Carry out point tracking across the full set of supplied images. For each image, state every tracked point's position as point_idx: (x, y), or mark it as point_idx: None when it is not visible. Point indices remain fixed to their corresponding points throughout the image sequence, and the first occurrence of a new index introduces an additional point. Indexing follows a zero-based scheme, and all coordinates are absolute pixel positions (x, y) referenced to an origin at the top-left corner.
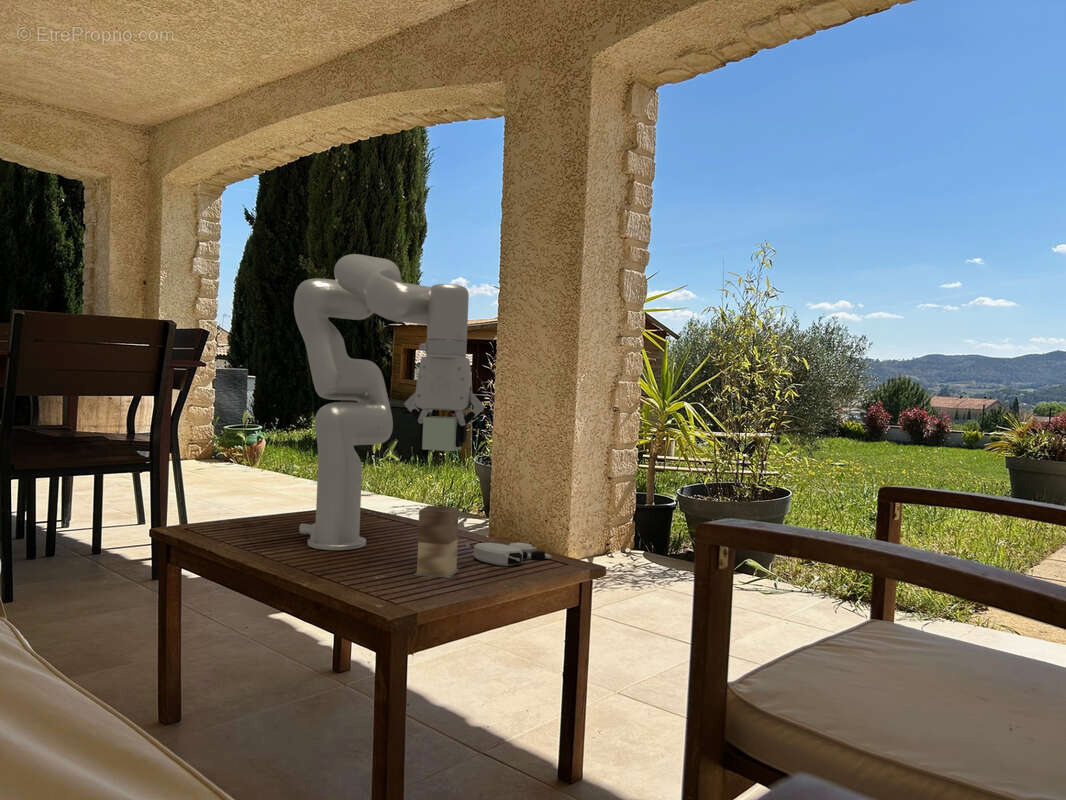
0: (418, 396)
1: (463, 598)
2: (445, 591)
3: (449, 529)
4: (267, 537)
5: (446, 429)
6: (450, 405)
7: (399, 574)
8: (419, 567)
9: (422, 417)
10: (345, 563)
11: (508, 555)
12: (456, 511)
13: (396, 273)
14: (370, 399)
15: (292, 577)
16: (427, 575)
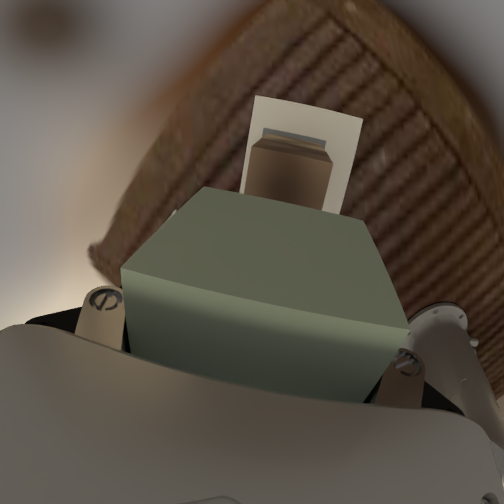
0: (488, 500)
1: (233, 53)
2: (265, 84)
3: (257, 141)
4: (493, 347)
5: (214, 239)
6: (104, 382)
7: (351, 178)
8: (317, 144)
9: (402, 378)
10: (430, 238)
11: (172, 213)
12: None
13: None
14: None
15: (486, 152)
16: (302, 136)
